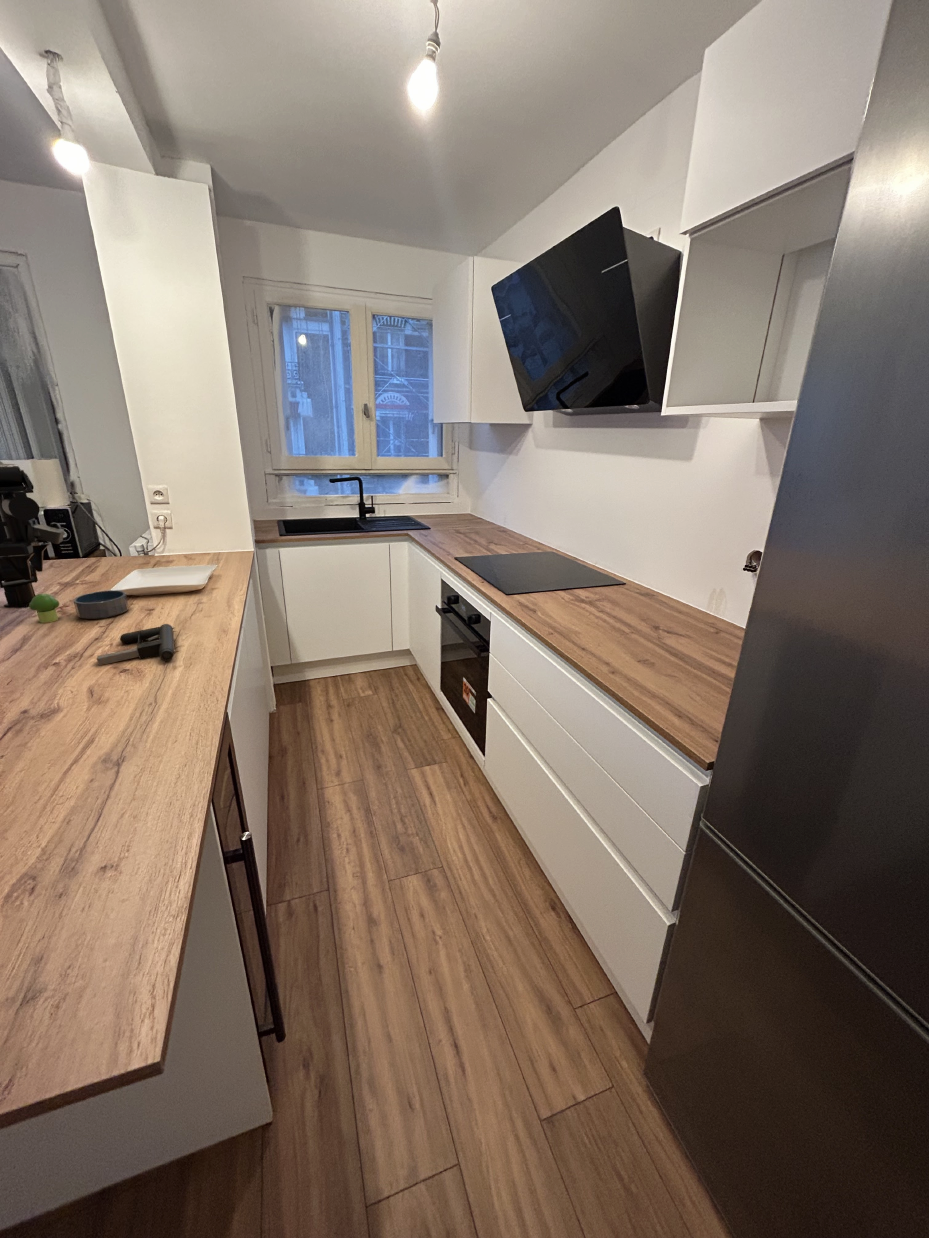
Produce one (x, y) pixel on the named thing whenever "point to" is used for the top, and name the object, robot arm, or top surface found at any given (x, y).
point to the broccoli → (45, 607)
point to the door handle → (144, 645)
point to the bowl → (101, 604)
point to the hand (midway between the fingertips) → (34, 575)
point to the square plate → (165, 580)
